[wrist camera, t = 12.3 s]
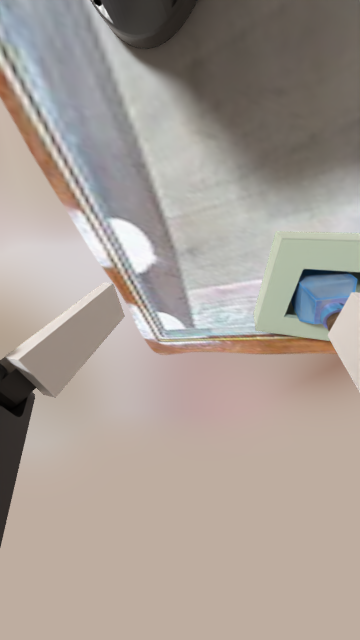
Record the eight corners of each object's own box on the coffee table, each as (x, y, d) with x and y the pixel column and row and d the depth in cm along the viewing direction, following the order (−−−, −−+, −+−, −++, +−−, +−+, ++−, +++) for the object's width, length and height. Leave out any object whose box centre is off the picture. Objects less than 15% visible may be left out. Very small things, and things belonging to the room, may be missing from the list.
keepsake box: (275, 231, 28) (283, 239, 24) (398, 233, 25) (436, 244, 20) (253, 313, 38) (255, 330, 33) (340, 323, 34) (356, 344, 30)
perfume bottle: (290, 302, 33) (311, 345, 24) (292, 271, 30) (315, 307, 21) (331, 297, 31) (370, 343, 22) (337, 263, 28) (385, 300, 19)
